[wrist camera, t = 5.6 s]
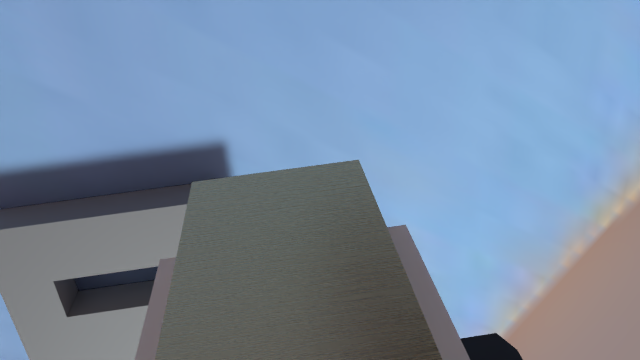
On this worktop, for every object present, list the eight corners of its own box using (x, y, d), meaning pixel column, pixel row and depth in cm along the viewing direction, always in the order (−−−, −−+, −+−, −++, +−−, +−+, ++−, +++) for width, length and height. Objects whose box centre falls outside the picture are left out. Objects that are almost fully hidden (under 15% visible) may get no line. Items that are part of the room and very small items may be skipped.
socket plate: (220, 179, 33) (218, 200, 31) (265, 409, 42) (266, 438, 39) (-7, 210, 32) (-26, 233, 30) (86, 437, 41) (77, 469, 39)
